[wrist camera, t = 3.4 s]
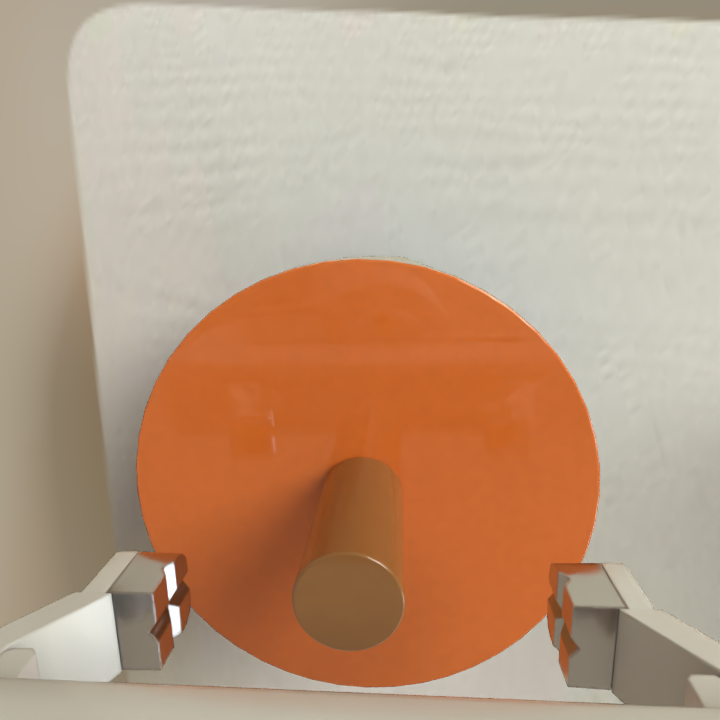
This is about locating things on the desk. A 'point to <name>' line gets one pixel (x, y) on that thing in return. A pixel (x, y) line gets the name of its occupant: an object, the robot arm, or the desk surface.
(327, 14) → the desk surface
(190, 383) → the lid
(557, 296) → the desk surface
